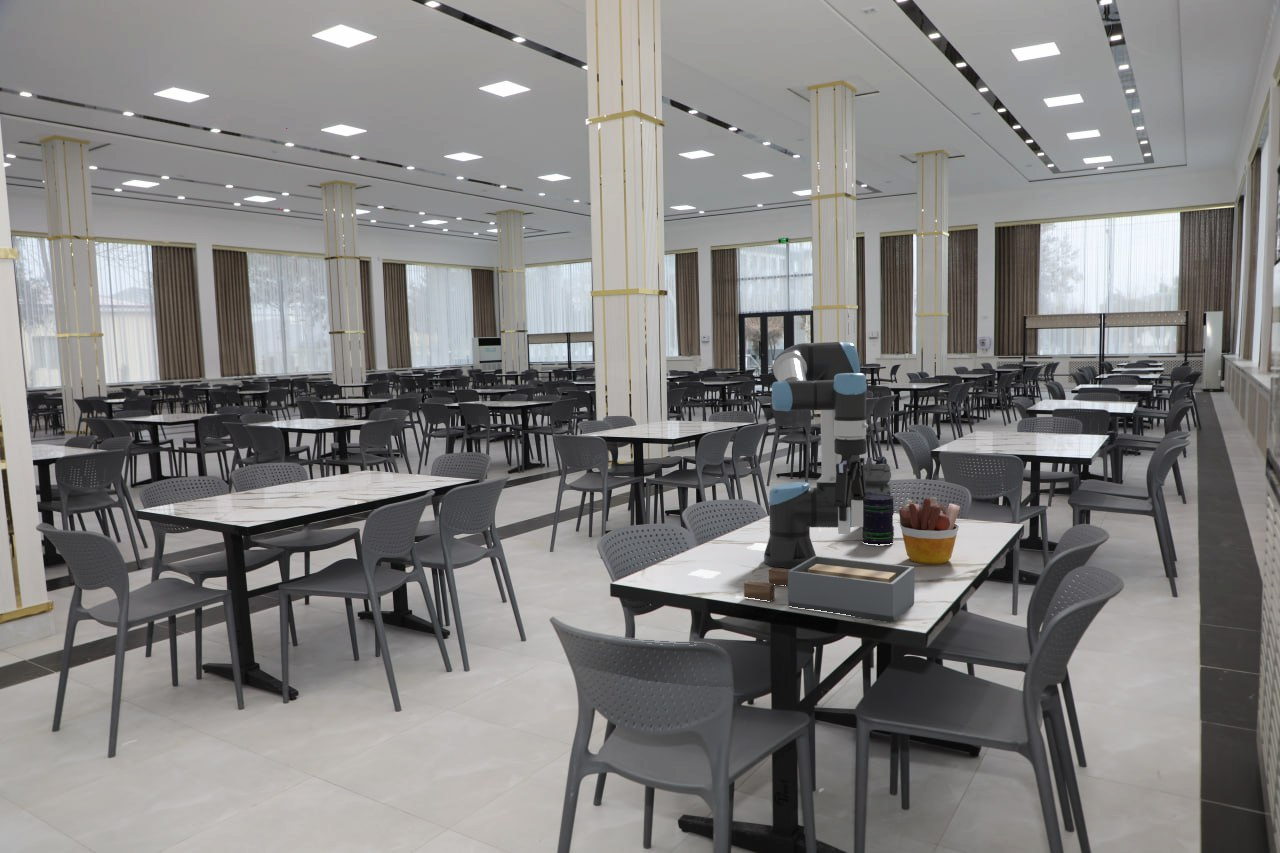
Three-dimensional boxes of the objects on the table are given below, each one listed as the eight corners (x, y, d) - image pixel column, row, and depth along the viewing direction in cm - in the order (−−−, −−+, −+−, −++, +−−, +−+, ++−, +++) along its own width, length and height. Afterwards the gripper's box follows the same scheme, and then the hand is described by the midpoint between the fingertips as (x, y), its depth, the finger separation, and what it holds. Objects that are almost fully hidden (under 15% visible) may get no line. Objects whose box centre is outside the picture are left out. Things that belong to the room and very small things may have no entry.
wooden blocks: (769, 602, 215) (769, 586, 215) (744, 598, 219) (743, 583, 218) (797, 585, 230) (797, 570, 230) (773, 581, 234) (773, 567, 233)
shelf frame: (788, 607, 210) (787, 571, 210) (814, 589, 225) (814, 555, 224) (893, 622, 196) (893, 584, 196) (914, 602, 211) (914, 566, 210)
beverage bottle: (898, 525, 303) (898, 454, 301) (882, 532, 293) (881, 458, 291) (871, 522, 309) (871, 453, 307) (854, 528, 299) (853, 457, 297)
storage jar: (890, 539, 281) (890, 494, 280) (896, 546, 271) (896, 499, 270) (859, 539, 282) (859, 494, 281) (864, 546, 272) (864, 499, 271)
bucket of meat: (904, 551, 265) (904, 486, 263) (961, 554, 258) (961, 489, 256) (894, 566, 247) (894, 497, 245) (955, 571, 240) (956, 500, 238)
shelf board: (896, 583, 207) (896, 572, 207) (888, 589, 202) (888, 578, 202) (816, 573, 218) (816, 563, 218) (807, 579, 213) (807, 569, 213)
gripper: (850, 442, 196) (851, 540, 198) (879, 433, 214) (879, 523, 216) (819, 441, 200) (819, 537, 202) (850, 432, 218) (850, 520, 220)
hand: (850, 530), depth 209 cm, fingers open, 9 cm apart
